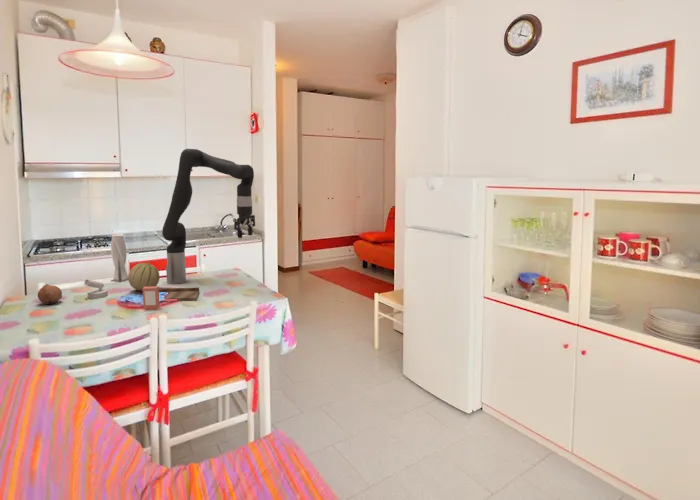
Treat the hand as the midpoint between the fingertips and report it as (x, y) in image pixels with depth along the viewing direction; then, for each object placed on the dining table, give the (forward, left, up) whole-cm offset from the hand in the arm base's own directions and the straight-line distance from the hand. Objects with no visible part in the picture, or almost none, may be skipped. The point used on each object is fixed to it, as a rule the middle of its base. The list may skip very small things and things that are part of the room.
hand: (245, 236), depth 228 cm
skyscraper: (-77, -6, -29) cm, 83 cm away
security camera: (-63, -35, -29) cm, 78 cm away
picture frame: (-25, -40, -29) cm, 56 cm away
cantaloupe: (-49, -18, -29) cm, 60 cm away
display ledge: (-26, -22, -29) cm, 45 cm away
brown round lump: (-73, -51, -29) cm, 94 cm away
